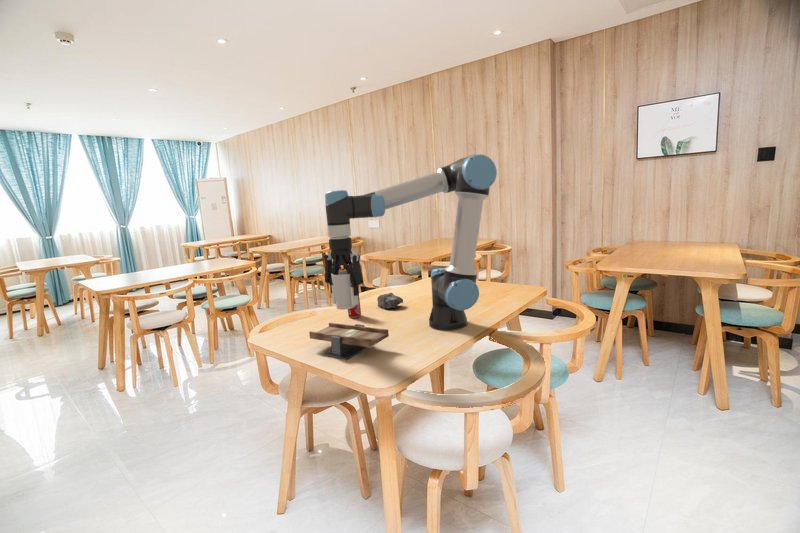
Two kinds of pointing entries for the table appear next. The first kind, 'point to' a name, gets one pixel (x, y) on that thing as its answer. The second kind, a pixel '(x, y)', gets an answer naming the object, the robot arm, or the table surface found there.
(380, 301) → the rock
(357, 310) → the beverage can
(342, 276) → the cup
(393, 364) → the table surface
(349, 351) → the pivot stand
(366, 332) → the beam
